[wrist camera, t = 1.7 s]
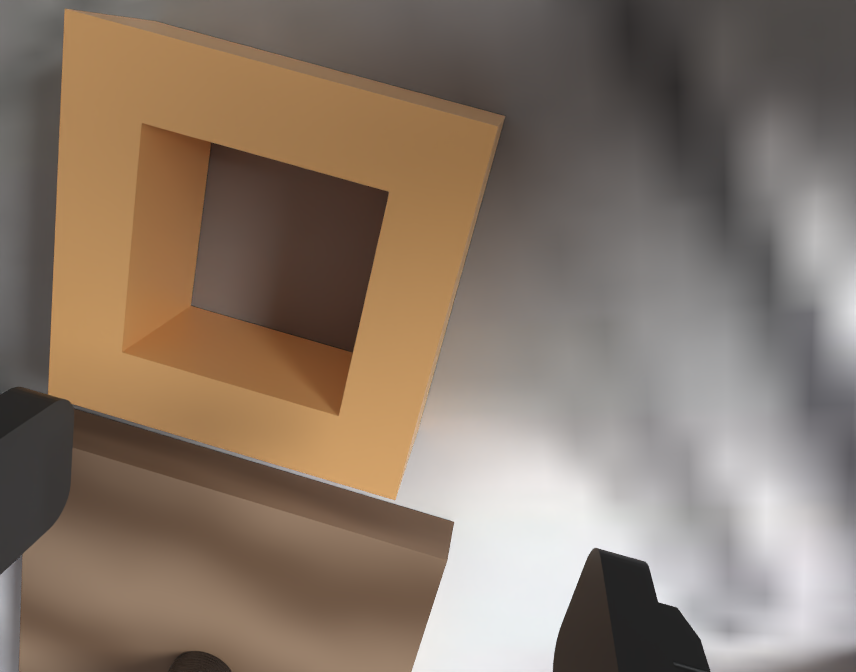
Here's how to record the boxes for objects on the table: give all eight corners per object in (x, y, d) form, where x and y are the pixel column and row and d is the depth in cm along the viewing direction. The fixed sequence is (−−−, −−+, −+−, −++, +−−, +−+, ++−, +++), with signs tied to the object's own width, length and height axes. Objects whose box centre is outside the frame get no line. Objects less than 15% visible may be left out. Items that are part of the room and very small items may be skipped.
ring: (155, 21, 19) (64, 8, 16) (505, 116, 19) (498, 126, 15) (126, 344, 23) (47, 396, 19) (418, 430, 23) (395, 500, 19)
